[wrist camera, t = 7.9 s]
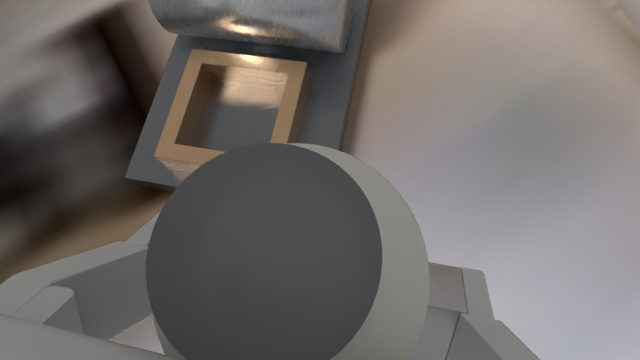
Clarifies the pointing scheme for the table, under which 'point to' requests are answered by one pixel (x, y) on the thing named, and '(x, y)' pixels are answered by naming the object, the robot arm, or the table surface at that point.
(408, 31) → the table surface
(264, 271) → the white capped bottle
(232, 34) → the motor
